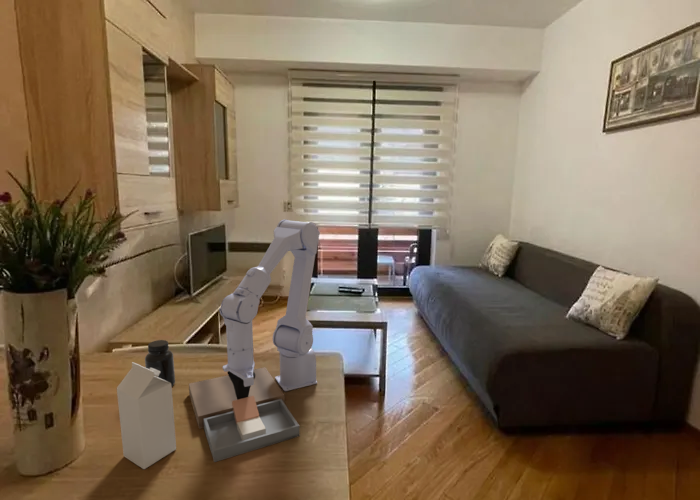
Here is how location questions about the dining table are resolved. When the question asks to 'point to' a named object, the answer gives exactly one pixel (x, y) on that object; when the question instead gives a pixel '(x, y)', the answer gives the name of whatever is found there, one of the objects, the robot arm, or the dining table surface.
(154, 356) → the supplement bottle
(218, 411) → the plate
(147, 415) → the milk carton
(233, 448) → the tray
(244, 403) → the terracotta tile
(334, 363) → the dining table surface
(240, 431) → the cream tile
